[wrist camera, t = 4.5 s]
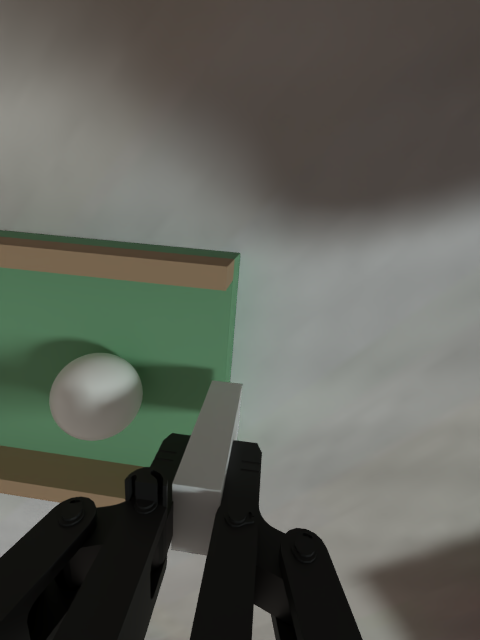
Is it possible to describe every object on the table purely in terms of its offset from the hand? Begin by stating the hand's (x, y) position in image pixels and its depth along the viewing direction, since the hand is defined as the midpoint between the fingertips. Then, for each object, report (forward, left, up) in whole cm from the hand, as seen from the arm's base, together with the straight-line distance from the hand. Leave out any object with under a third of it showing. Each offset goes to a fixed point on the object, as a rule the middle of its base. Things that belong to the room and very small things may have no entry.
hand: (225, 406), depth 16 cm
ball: (0, -6, +1) cm, 6 cm away
